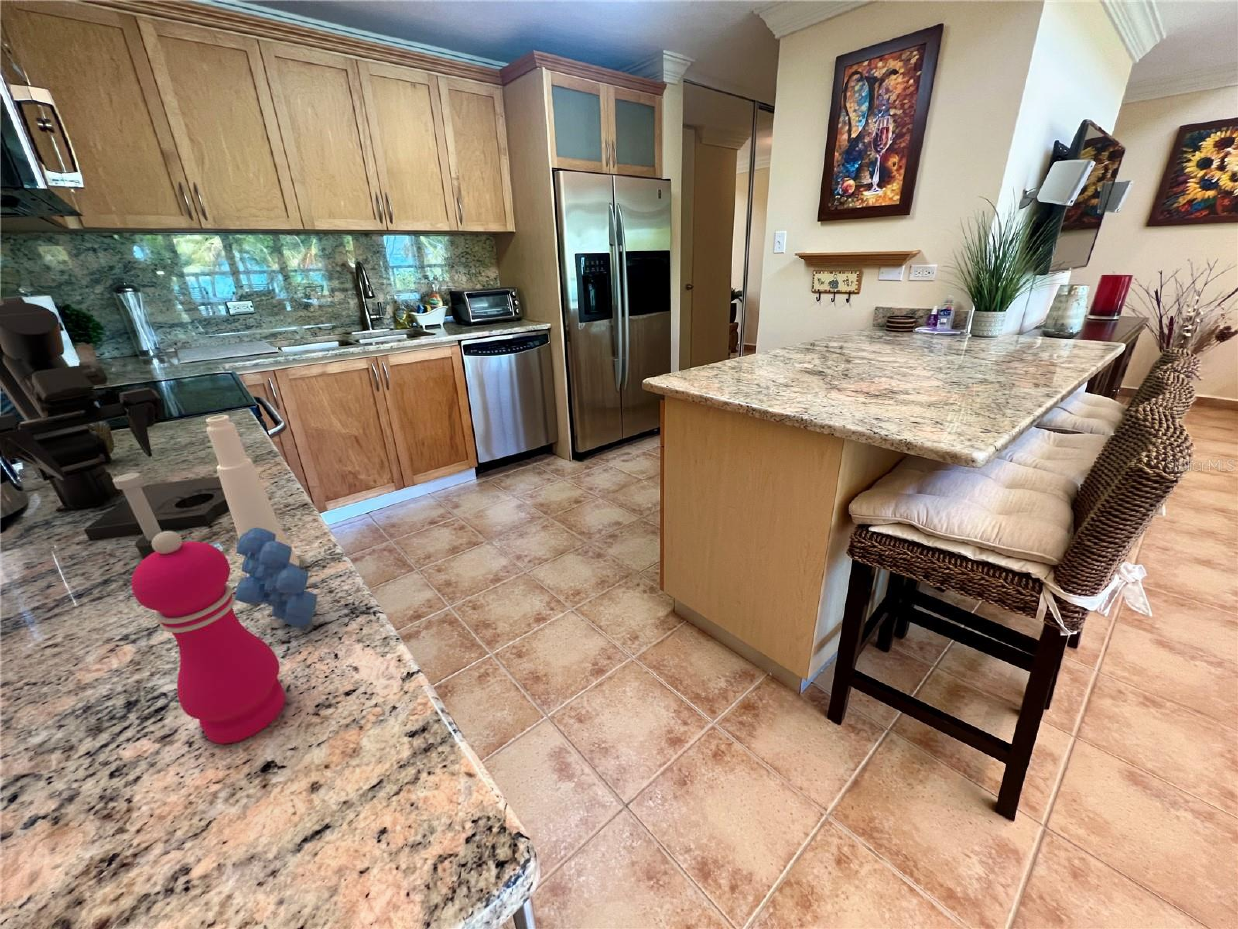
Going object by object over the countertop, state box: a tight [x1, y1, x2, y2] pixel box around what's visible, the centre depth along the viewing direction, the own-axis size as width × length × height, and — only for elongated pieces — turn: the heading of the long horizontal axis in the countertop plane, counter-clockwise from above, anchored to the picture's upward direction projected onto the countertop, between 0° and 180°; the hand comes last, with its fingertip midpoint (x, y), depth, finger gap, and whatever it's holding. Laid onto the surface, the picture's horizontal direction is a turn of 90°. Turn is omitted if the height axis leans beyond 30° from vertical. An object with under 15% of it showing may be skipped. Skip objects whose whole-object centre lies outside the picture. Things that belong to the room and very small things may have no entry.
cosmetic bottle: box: [205, 414, 300, 577], centre depth 63 cm, size 6×6×22 cm
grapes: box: [234, 528, 318, 629], centre depth 55 cm, size 12×7×12 cm, turn 58°
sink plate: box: [83, 476, 230, 541], centre depth 84 cm, size 17×16×2 cm
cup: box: [86, 422, 115, 466], centre depth 102 cm, size 8×7×8 cm
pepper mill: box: [130, 531, 286, 744], centre depth 42 cm, size 7×7×20 cm
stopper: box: [113, 472, 176, 560], centre depth 70 cm, size 4×4×12 cm
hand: (109, 466), depth 70 cm, fingers open, 9 cm apart
